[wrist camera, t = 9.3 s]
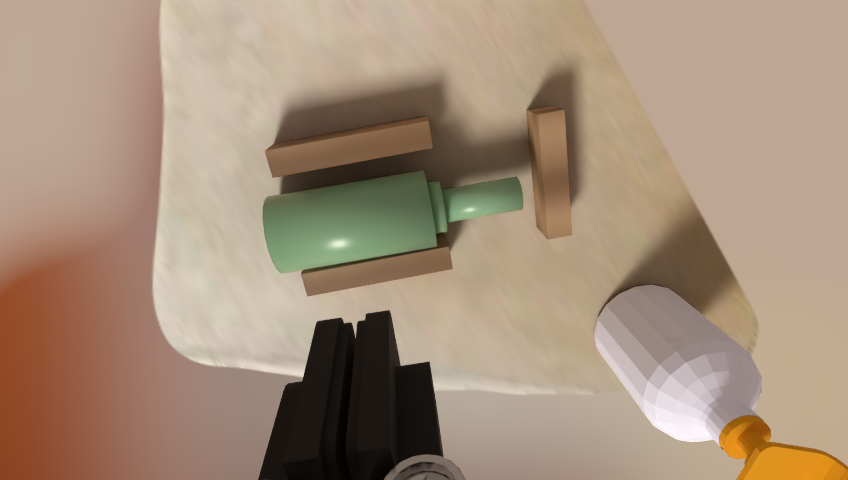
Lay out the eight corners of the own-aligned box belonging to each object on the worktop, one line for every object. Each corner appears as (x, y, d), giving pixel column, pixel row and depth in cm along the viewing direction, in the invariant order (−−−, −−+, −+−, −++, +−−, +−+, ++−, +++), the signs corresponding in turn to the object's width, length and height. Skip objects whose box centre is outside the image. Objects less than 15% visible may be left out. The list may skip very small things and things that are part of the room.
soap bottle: (613, 274, 44) (862, 511, 21) (699, 293, 46) (1020, 532, 23) (578, 356, 47) (764, 640, 24) (661, 370, 49) (909, 652, 26)
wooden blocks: (273, 143, 37) (264, 151, 35) (550, 92, 38) (563, 95, 35) (312, 280, 42) (307, 296, 39) (560, 233, 42) (572, 246, 39)
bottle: (256, 218, 33) (528, 171, 33) (271, 184, 38) (506, 144, 39) (281, 288, 36) (530, 245, 36) (292, 248, 41) (510, 210, 42)
